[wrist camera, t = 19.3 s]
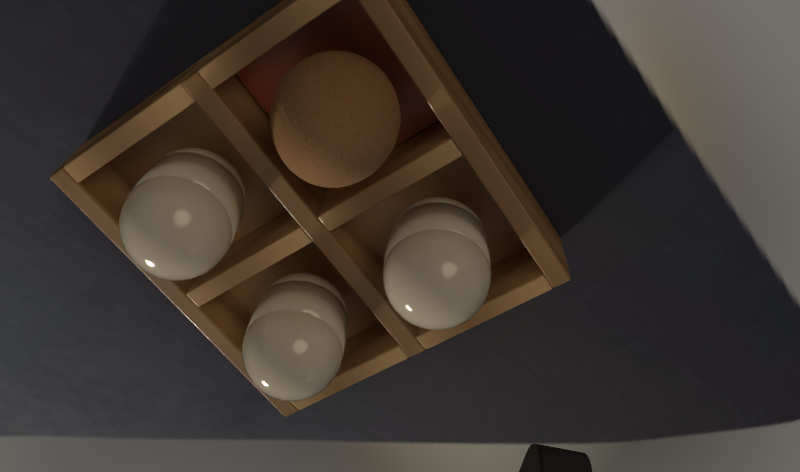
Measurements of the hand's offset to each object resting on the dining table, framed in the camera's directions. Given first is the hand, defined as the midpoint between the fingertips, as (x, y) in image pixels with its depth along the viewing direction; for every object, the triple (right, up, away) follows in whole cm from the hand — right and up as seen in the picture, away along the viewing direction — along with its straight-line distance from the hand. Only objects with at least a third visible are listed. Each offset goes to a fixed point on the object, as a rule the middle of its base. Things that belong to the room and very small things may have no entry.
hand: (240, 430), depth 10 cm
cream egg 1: (-6, +5, +20) cm, 21 cm away
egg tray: (-1, +5, +21) cm, 21 cm away
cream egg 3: (+4, +3, +20) cm, 21 cm away
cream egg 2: (-2, 0, +23) cm, 23 cm away
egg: (0, +8, +18) cm, 20 cm away
